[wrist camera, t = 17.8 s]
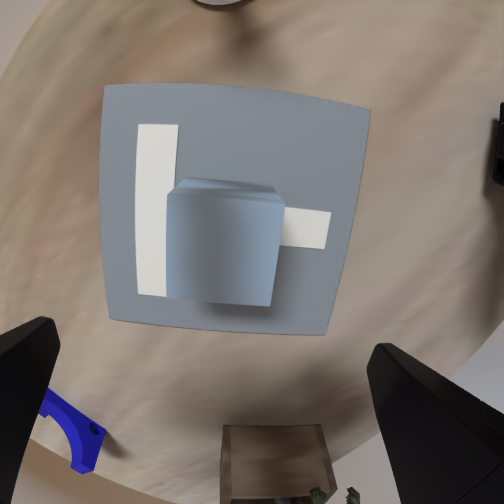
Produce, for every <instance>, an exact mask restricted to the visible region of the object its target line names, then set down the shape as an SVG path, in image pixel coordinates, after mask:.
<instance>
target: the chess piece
mask: <svg viewBox="0 0 504 504" xmlns="http://www.w3.org/2000/svg"><path fill="white" fill-rule="evenodd" d="M197 1H199V2H202V3H206V4H212V5H225V4H231V3H235V2H238V1H241V0H197Z"/></svg>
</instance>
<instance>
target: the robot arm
mask: <svg viewBox="0 0 504 504" xmlns="http://www.w3.org/2000/svg"><path fill="white" fill-rule="evenodd" d="M492 178H493V181H494V182H495V183H497V184H500V185H502V186H504V102H502V103H501V105H500V118H499V130H498V140H497V148H496V156H495V163H494V169H493V175H492ZM59 350H60V340H59V336H58V333H57V329H56V325H55V322H54V320H53V319H52V318H48V317H44V316H40V317H37V318H35V319H33V320H31V321H29V322H27V323H25V324H22V325H20V326H18V327H16V328H14V329H12V330H10V331H8V332H6V333H4V334H2V335H0V504H11V500H12V496H13V492H14V488H15V483H16V480H17V476H18V472H19V469H20V466H21V462H22V458H23V456H24V452H25V449H26V446H27V443H28V440H29V437H30V434H31V432H32V429H33V426H34V423H35V420H36V418H37V415H38V412H39V410H40V407H41V405H42V402H43V400H44V397H45V394H46V392H47V388H48V385H49V382H50V379H51V375H52V372H53V369H54V366H55V363H56V359H57V356H58V353H59ZM367 376H368V380H369V385H370V389H371V394H372V399H373V404H374V409H375V413H376V417H377V421H378V424H379V427H380V431H381V434H382V437H383V440H384V443H385V447H386V450H387V454H388V457H389V461H390V464H391V468H392V471H393V475H394V478H395V482H396V486H397V490H398V493H399V497H400V501H401V504H504V414H503V413H501V412H499V411H498V410H496V409H494V408H492V407H491V406H489V405H488V404H486V403H485V402H483V401H481V400H480V399H478V398H477V397H475V396H473V395H472V394H470V393H469V392H467V391H466V390H464V389H462V388H461V387H459V386H458V385H456V384H455V383H453V382H451V381H450V380H448V379H447V378H445V377H444V376H442V375H440V374H439V373H437V372H436V371H434V370H432V369H431V368H429V367H428V366H426V365H425V364H423V363H421V362H420V361H418V360H417V359H415V358H414V357H412V356H410V355H409V354H407V353H406V352H404V351H403V350H401V349H399V348H398V347H396V346H395V345H393V344H391V343H379V344H377V345H376V346H375V348H374V350H373V353H372V355H371V358H370V360H369V362H368V365H367Z"/></svg>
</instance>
